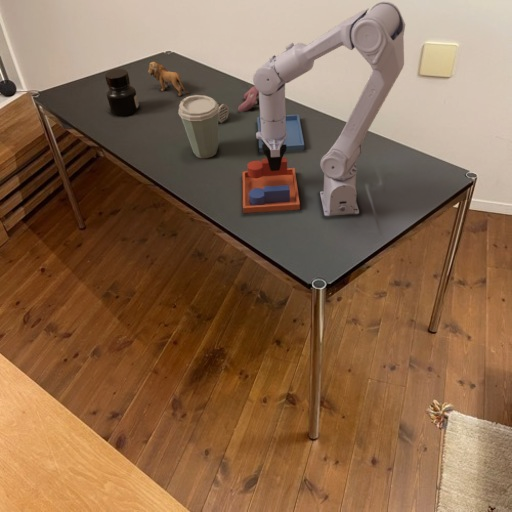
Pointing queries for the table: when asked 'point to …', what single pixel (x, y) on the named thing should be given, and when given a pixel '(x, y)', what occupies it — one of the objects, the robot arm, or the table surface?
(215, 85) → the table surface
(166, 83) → the lion figurine
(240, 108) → the pink shoe
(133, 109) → the ink bottle
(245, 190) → the terracotta tray
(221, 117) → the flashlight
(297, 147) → the blue tray
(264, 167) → the red round-ended block
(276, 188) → the blue round-ended block
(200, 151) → the disposable coffee cup
